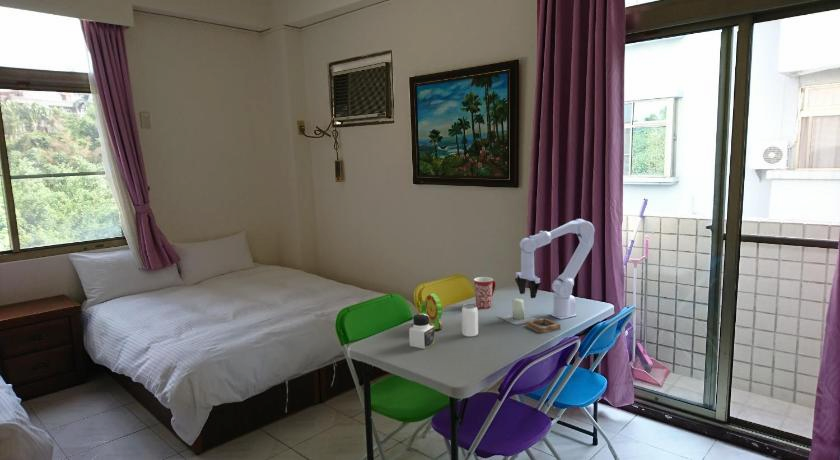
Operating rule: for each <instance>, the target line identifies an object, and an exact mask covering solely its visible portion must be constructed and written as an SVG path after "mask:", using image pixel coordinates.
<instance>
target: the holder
mask: <svg viewBox="0 0 840 460" xmlns="http://www.w3.org/2000/svg"><path fill="white" fill-rule="evenodd" d="M540 325H545V326H540ZM525 327H526V328H529V329H531V330H532V331H535V332H537V333H539V334H545V333H549V332H553V331H554V332H555V331H558V330H561V324H560V323H558V322H555V321H553V320H551V319H549V318H546V317H542V318H538V319H537V318H536V320H532V321H527V322H526V323H525Z"/></svg>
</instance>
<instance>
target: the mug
mask: <svg viewBox="0 0 840 460" xmlns="http://www.w3.org/2000/svg"><path fill="white" fill-rule="evenodd" d="M473 281H474V282H473V283H474V293H475V295H474V296H475V305H476V306H477V309H482V310H484V309H485V310H486V309H490V308H492V306H493V305H492V301H493V295H494V294H495V289H496V281H495V280H494V279H493V277H489V276H480V277H475V278H473Z"/></svg>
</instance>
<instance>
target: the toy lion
mask: <svg viewBox="0 0 840 460" xmlns="http://www.w3.org/2000/svg"><path fill="white" fill-rule="evenodd" d="M420 314H426V315H428V316H429V325H430V326H434V331H436V330H439V331H440V330H442V329H443V327H444V326H443V322H442V320H440V319H441V318H442V315H443V306H442V303H441V299H439V297H438V295H437V294H436V293H429V294H427V295H426V298H425V299H424V300H423V301H422V302H421V304H420Z"/></svg>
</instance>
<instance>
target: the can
mask: <svg viewBox="0 0 840 460" xmlns="http://www.w3.org/2000/svg"><path fill="white" fill-rule="evenodd" d="M478 309H479V308H477V306H476V304H473V303H465V304H463V305H462V309H461V330H462V331H461V332H462V335H463V336H464V337H468V338H471V337H472V338H473V337H477V336H478V334H479V310H478Z"/></svg>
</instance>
